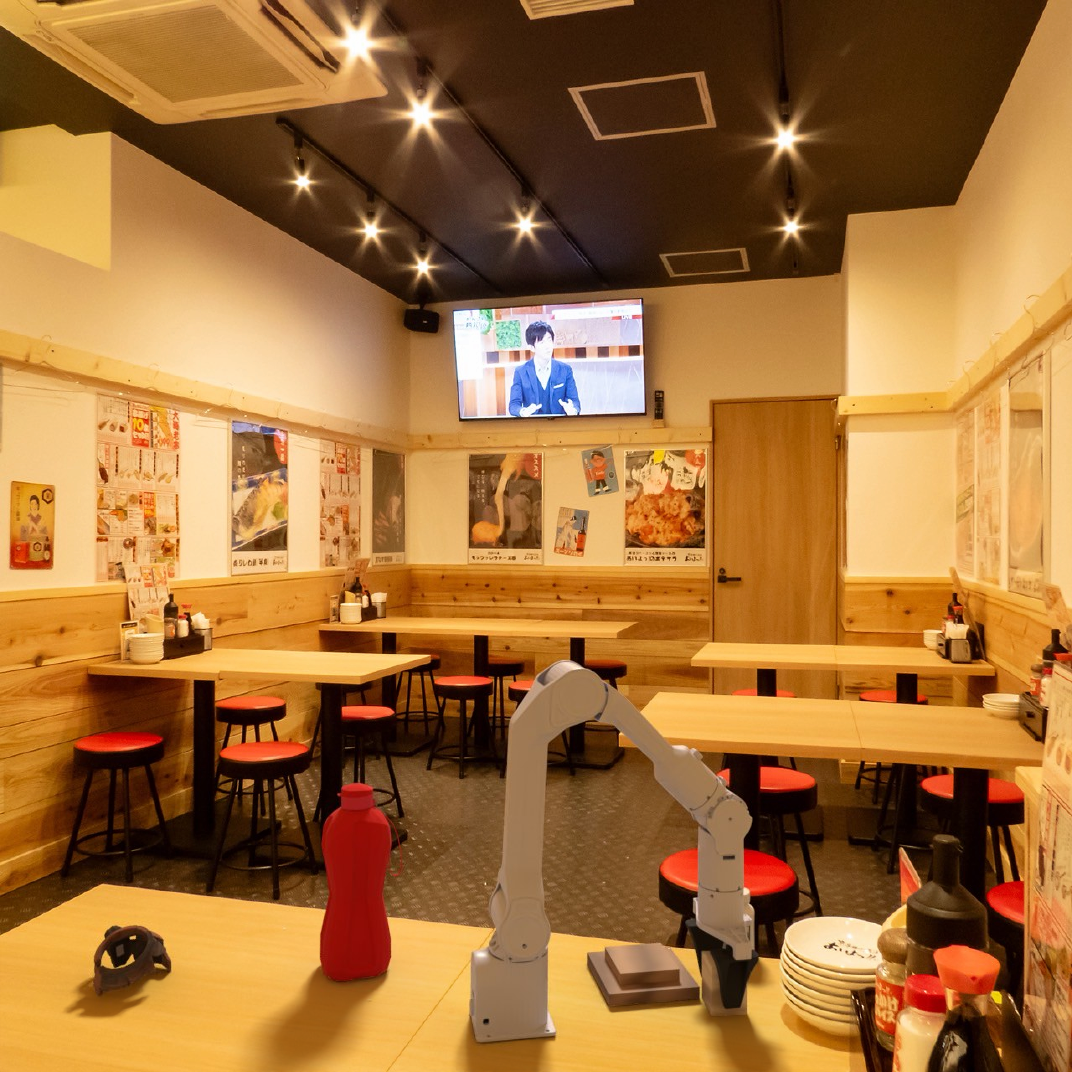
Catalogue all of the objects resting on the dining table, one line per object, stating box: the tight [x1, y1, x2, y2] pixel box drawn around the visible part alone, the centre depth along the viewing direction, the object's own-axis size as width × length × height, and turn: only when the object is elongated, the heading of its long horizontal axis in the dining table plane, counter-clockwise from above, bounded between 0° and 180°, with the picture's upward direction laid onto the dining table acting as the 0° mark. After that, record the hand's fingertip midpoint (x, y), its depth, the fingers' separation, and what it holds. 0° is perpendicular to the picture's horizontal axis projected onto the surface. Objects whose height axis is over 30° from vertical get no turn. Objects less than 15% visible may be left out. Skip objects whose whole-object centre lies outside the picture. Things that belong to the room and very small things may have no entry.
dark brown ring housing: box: [92, 924, 172, 997], centre depth 117 cm, size 12×10×8 cm
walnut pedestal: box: [586, 942, 701, 1007], centre depth 118 cm, size 12×12×3 cm
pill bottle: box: [722, 886, 756, 951], centre depth 127 cm, size 5×5×9 cm
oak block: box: [701, 951, 748, 1017], centre depth 112 cm, size 4×4×6 cm
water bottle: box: [319, 782, 403, 983], centre depth 122 cm, size 9×11×25 cm
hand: (720, 992), depth 112 cm, fingers open, 7 cm apart
